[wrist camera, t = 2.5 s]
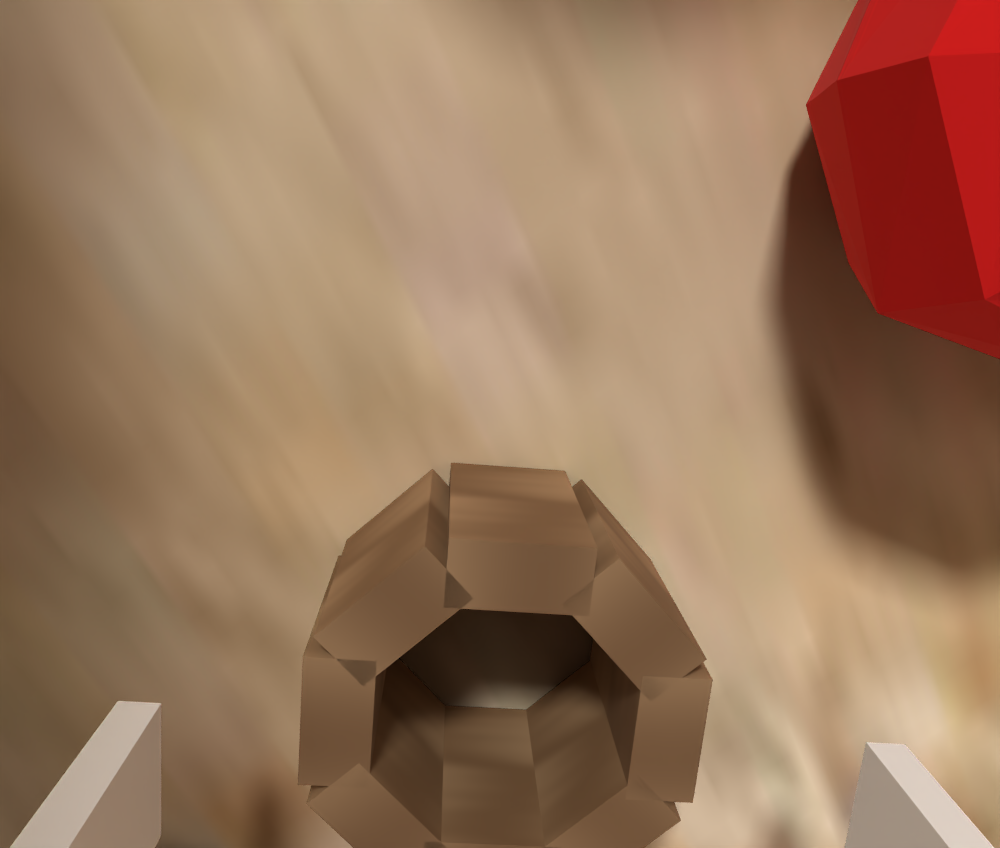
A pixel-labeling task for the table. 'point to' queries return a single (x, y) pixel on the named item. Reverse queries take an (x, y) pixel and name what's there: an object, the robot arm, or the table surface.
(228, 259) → the table surface
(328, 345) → the table surface
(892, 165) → the apple
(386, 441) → the table surface
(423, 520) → the ring
